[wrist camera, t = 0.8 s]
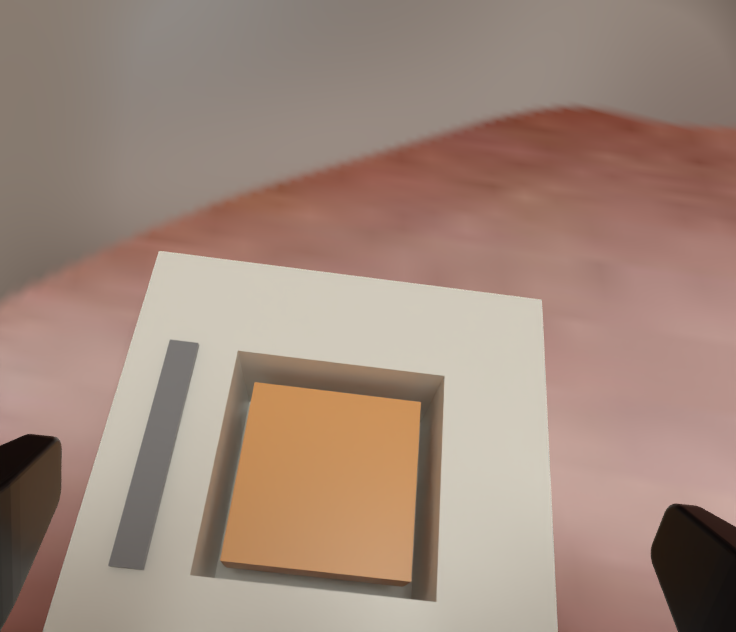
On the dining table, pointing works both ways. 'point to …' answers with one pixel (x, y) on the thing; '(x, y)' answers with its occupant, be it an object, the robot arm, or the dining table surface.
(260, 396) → the guard button
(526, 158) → the dining table surface
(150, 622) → the box
